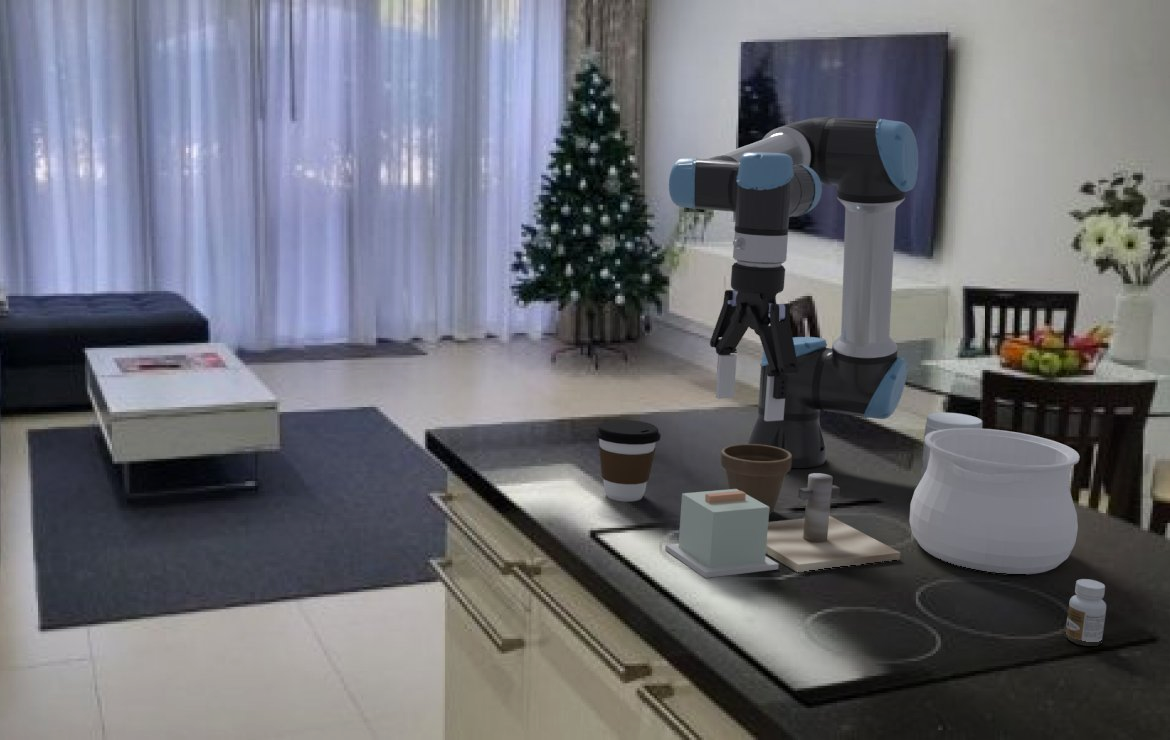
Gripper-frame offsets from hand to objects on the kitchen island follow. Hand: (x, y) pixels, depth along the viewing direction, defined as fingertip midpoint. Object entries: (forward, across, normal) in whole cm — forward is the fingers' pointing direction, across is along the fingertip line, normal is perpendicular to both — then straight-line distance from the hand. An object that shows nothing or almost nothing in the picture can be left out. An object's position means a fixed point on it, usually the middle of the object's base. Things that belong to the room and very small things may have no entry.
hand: (748, 408), depth 186 cm
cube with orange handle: (+21, +2, -4) cm, 22 cm away
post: (+22, +1, +13) cm, 25 cm away
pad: (+22, +2, -4) cm, 22 cm away
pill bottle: (+22, +42, +26) cm, 54 cm away
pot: (+23, +11, +38) cm, 45 cm away
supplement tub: (+23, -13, +50) cm, 56 cm away
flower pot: (+22, -17, +13) cm, 31 cm away
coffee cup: (+22, -30, -4) cm, 37 cm away
